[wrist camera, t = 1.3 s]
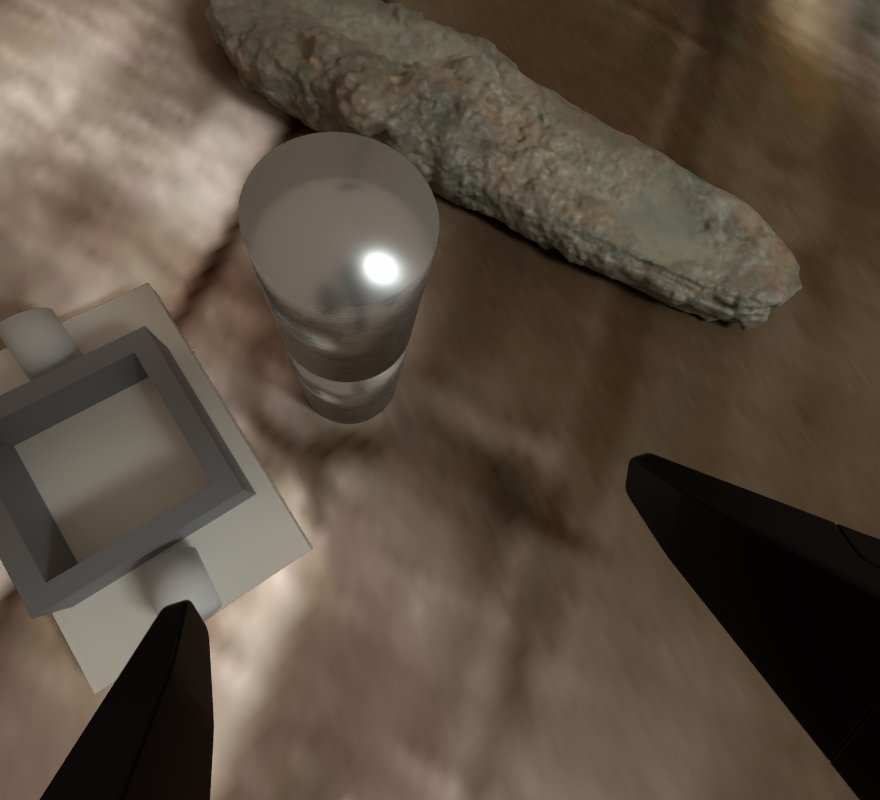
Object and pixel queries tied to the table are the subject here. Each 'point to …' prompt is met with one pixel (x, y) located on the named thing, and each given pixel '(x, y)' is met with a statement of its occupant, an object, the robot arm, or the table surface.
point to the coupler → (341, 263)
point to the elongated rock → (510, 149)
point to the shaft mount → (126, 479)
